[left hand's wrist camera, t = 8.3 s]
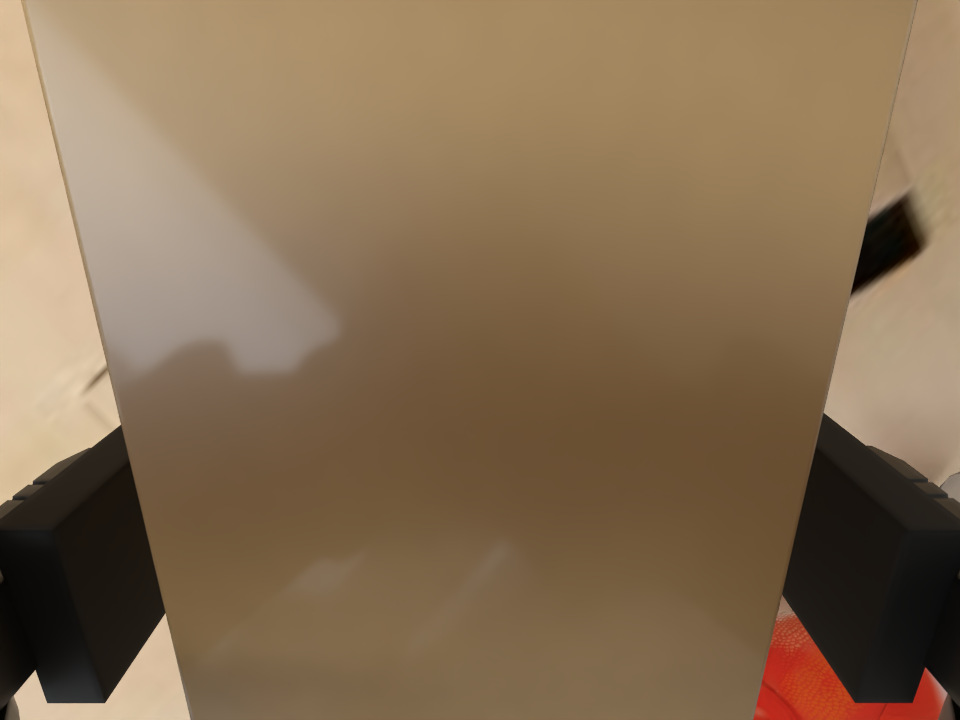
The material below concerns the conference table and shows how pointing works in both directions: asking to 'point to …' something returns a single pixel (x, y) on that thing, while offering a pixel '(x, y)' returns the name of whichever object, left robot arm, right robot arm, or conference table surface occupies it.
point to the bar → (470, 332)
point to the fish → (830, 677)
